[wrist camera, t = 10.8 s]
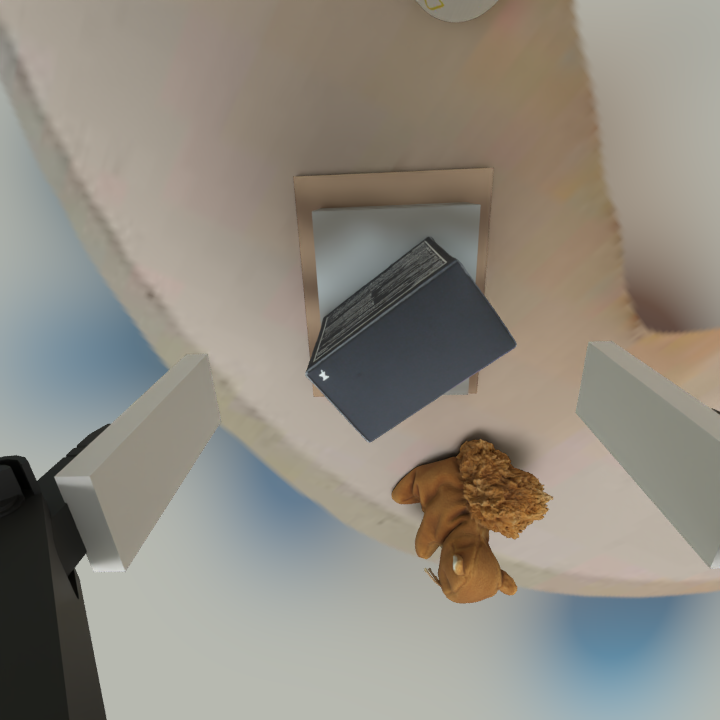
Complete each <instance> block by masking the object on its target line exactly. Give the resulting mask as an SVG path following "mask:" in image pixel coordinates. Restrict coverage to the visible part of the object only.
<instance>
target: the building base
mask: <svg viewBox="0 0 720 720" xmlns="http://www.w3.org/2000/svg"><path fill="white" fill-rule="evenodd" d="M493 171H494V168H473V169H451V170H429V171H407V172H384V173H362V174H340V175H318V176H296V177H293V179H294V190H295V201H296V211H297V222H298V233H299V244H300V255H301V265H302V276H303V287H304V298H305V309H306V319H307V330H308V341H309V352H310V359H311V356H312V353H313V350H314V346H315V343H316V342H317V338H318V335H319V332H320V329H321V325H322V320H323V318H324V317H325V316H327V315H328V314H329V313H330V312H332V311H333V310H334V309H335V308H337V307H338V306H339V305H340V304H341V303H343V302H344V301H345V300H346V299H348V298H349V297H350V296H352V295H353V294H354V293H356V291H358V290H359V289H360V288H362V287H363V286H365V285H366V284H367V283H369V282H370V281H371V280H373V279H374V278H375V277H376V276H378V275H379V274H380V273H381V272H383V271H384V270H385V269H387V268H388V267H389V266H390V265H391V264H393V263H394V262H396V261H397V260H398V259H400V258H401V257H402V256H403V255H405V254H406V253H407V252H409V251H410V250H411V249H413V248H414V247H415V246H416V245H418V244H419V243H421V242H422V241H423V240H424V239H426V238H427V237H429V236H430V237H432V238H433V239H434V240H435V242H436V243H437V244H438V245H439V246H441V247H442V248H443V249H444V250H445V251H446V252H447V253H449V255H451V256H452V257H454V258H456V259H458V260H459V261H460V262H461V263H462V264H463V266H464V267H465V269H466V271H467V272H468V273H469V275H470V276H471V277H472V279H473V280H474V282H475V283H476V285H477V286H478V287H479V289H480V290H481V292H482V293H483V294H484V292H485V278H486V265H487V251H488V238H489V224H490V211H491V198H492V184H493ZM478 372H479V371H478ZM478 372H477V373H475V374H474V375H472V376H471V377H469V378H468V379H466V380H465V381H463V382H462V383H460V384H458V385H457V386H455V387H454V388H452V389H451V390H449V391H448V392H446V393H445V394H443V395H466V394H473V393H477V386H478ZM312 384H313V383H312ZM313 395H314V397H324V395H323V394H322V393H321V391H320V390H319V389H318V388H317V387H316V386H315V385H314V384H313Z"/></svg>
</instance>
